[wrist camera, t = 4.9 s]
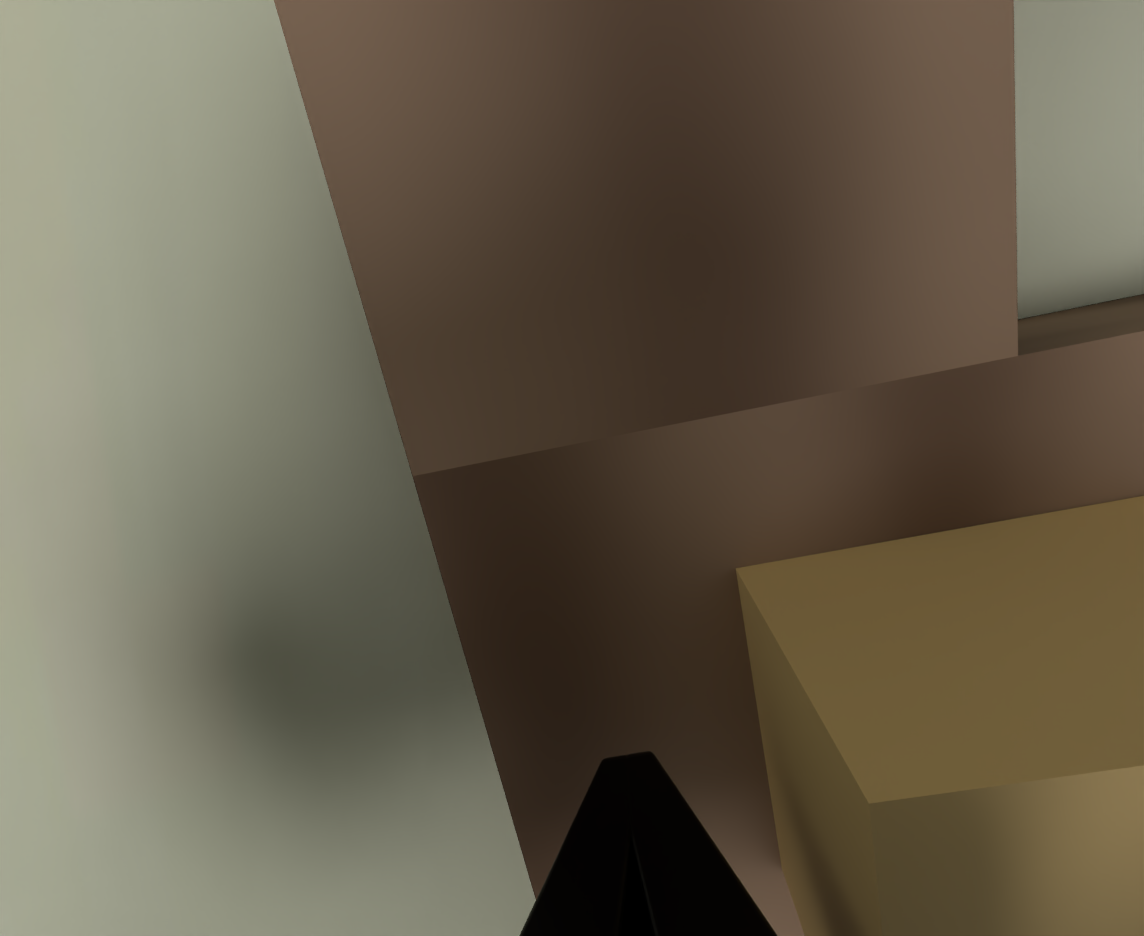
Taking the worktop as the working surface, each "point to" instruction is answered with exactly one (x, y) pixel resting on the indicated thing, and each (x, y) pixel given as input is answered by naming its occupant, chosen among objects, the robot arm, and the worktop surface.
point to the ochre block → (959, 727)
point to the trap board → (692, 342)
